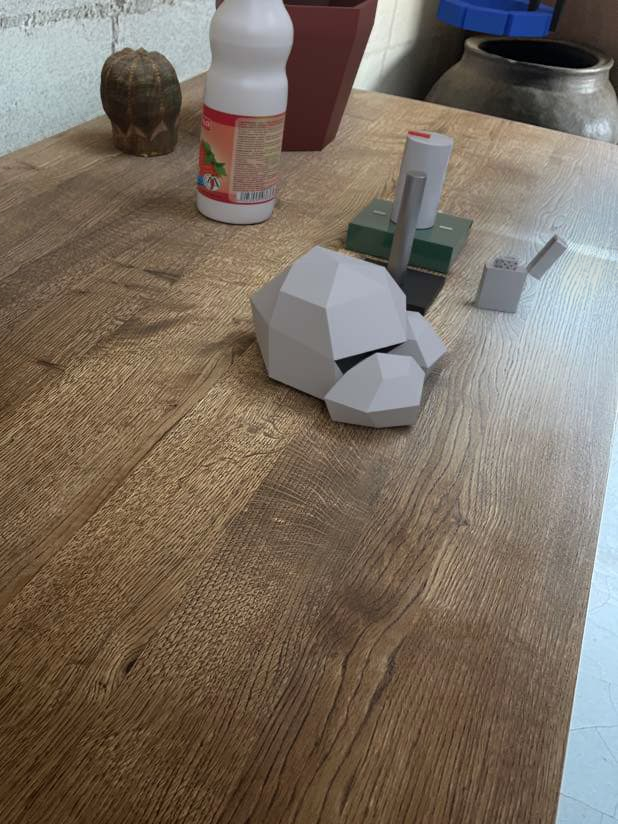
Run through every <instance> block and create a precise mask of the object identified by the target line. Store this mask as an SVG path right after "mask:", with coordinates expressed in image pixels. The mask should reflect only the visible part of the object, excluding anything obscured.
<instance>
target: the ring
mask: <svg viewBox="0 0 618 824" xmlns="http://www.w3.org/2000/svg"><path fill="white" fill-rule="evenodd" d="M529 1H530V0H439V4H438V7H437V11H436V19H437V20H438V21H441V22H442V23H445V24H448V25H450V26H452V27H455V28H458V29H462V30H467V31H472V32H478V33H484V34H490V35H496V36H503V35H505V36H506V37H514V38H515V37H517V38H521V37H524V38H526V37H527V38H542V37H547V36H548V35H549V34H550V33H551V32H550V31H549V27H550V23H551V20H552V16H553V11H554V8H555V7H552V6H549V5H546V4H544V3H540V5H539V8H538V9H537V10H536V11H534V12H527V9H528V5H529Z"/></svg>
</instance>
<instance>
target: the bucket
mask: <svg viewBox="0 0 618 824" xmlns="http://www.w3.org/2000/svg"><path fill="white" fill-rule="evenodd" d="M223 1H224V0H215V1H214V2H215V3H214V5H215V6H214V7H215V11H216V10H217V9H218V7H219V6H220V5H221V4H222V3H223ZM282 1H283V4H284V6H285V8H286V10H287V12H288V14H289V16H290V18H291V21H292V24H293V30H294V35H293V45H292V48H291V52H290V54H289V57H288V60H287V62H286V68H285V70H286V76H287V80H288V97H287V107H286V114H285V122H284V130H283V139H282V147H281V152H300V151H301V152H305V151H307V152H310V151H311V152H314V151H319V152H321V151H322V150H324V149H325V148H326V147H327V146H328V145H329V144H330V143H331V142H332V141H334V140H335V139H336V137H337V134H338V131H339V129H340V128H339V127H340V125H341V122H342V120H343V117H344V114H345V110H346V107H347V104H348V102H349V99H350V95H351V92H352V90H353V87H354V84H355V81H356V79H357V75H358V73H359V69H360V66H361V63H362V60H363V57H364V56H365V55H364V54H365V52H366V49H367V46H368V43H369V40H370V37H371V34H372V31H373V29H374V25H375V22H376V21H375V20H376V15H377V9H378V5H379V4H378V3H379V0H282Z"/></svg>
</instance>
